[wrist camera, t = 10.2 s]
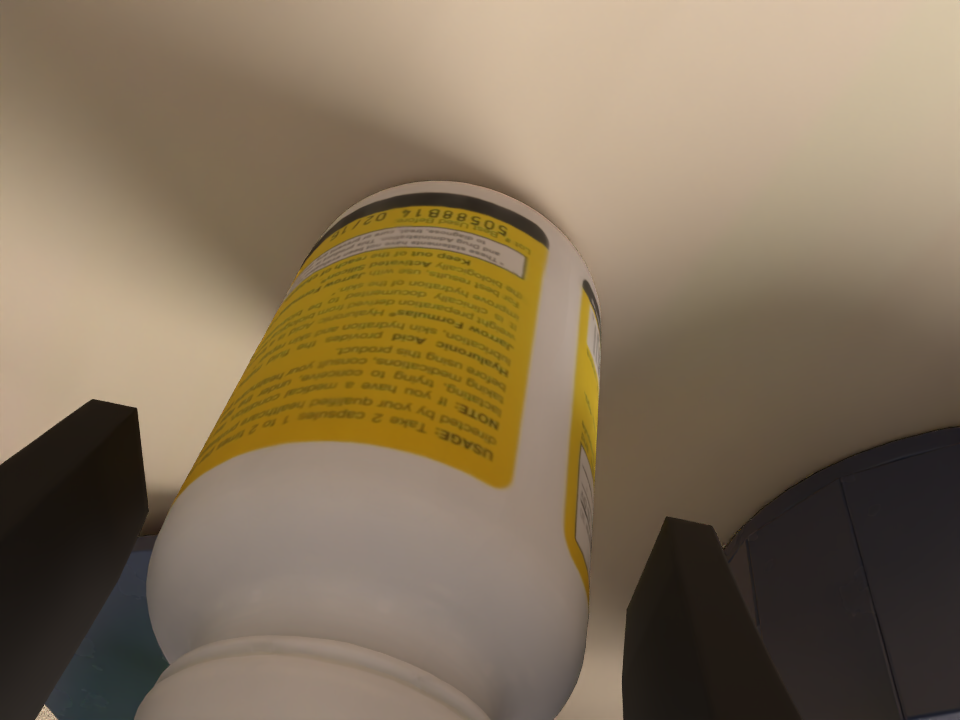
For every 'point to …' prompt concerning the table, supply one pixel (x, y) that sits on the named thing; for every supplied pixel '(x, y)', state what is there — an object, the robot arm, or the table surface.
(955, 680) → the pot
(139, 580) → the pot lid
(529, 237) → the supplement bottle
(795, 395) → the table surface
